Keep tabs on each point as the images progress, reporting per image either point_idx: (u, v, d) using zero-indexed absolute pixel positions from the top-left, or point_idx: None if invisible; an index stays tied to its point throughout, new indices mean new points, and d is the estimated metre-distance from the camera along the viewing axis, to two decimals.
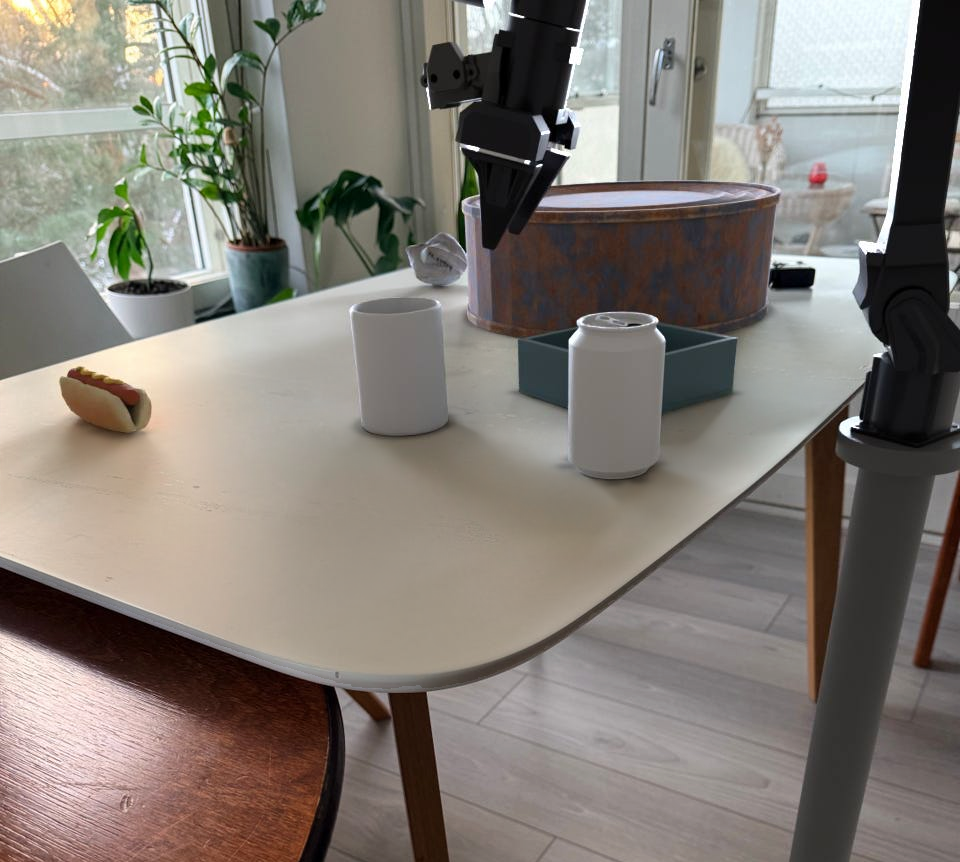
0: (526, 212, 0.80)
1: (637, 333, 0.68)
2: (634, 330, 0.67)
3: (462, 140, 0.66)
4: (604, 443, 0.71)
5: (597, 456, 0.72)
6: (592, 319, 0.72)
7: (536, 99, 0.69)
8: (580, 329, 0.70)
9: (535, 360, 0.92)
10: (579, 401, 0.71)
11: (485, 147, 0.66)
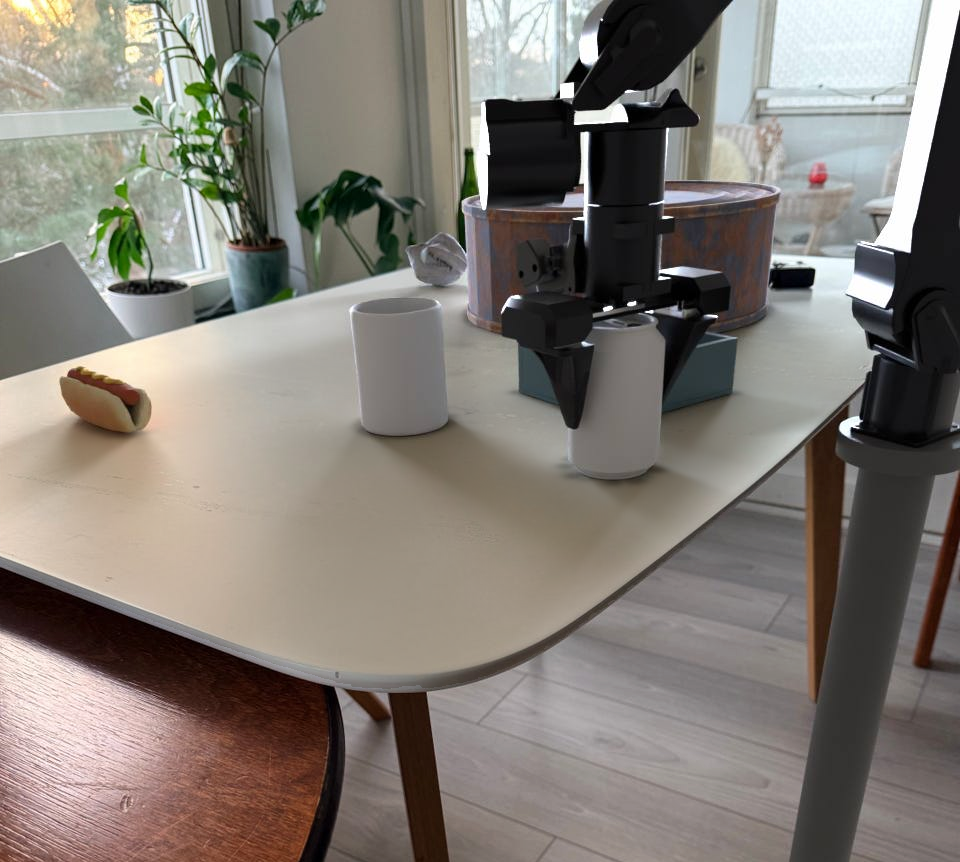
0: (665, 383, 0.74)
1: (637, 333, 0.68)
2: (634, 330, 0.67)
3: (503, 333, 0.67)
4: (604, 443, 0.71)
5: (597, 456, 0.72)
6: None
7: (603, 280, 0.66)
8: None
9: (535, 360, 0.92)
10: None
11: (517, 338, 0.65)
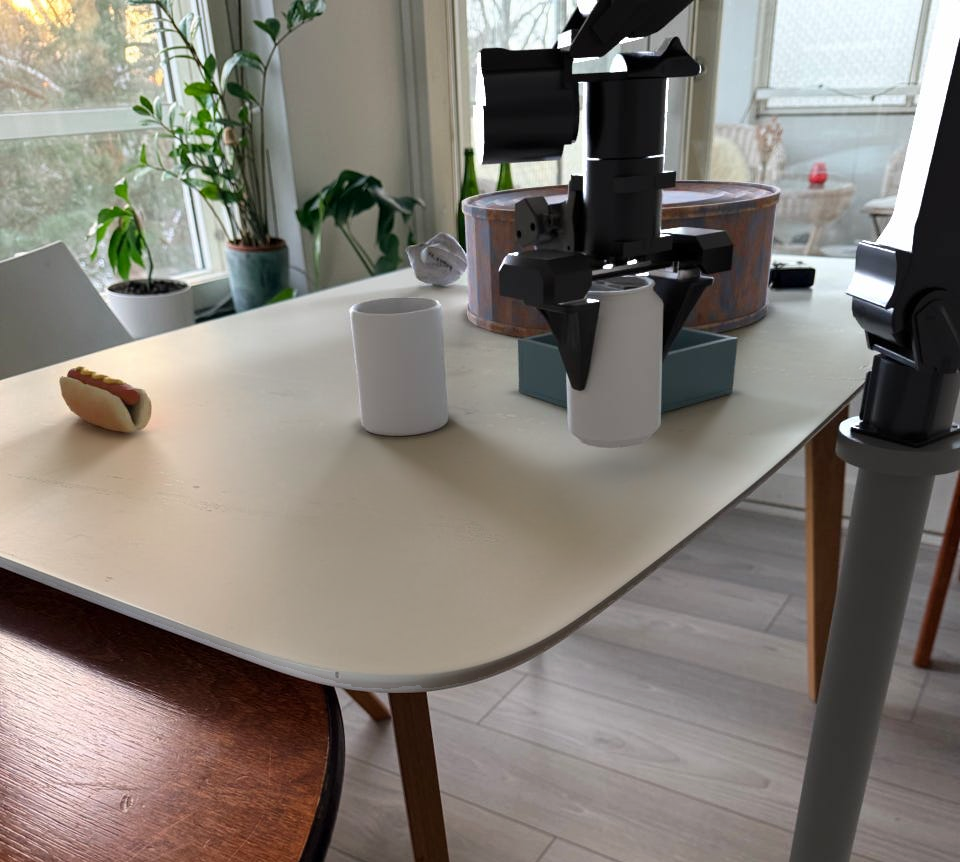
0: None
1: (634, 296, 0.66)
2: (630, 293, 0.66)
3: (500, 292, 0.65)
4: (604, 411, 0.70)
5: (597, 424, 0.70)
6: None
7: (603, 236, 0.64)
8: None
9: (535, 360, 0.92)
10: None
11: (515, 296, 0.64)
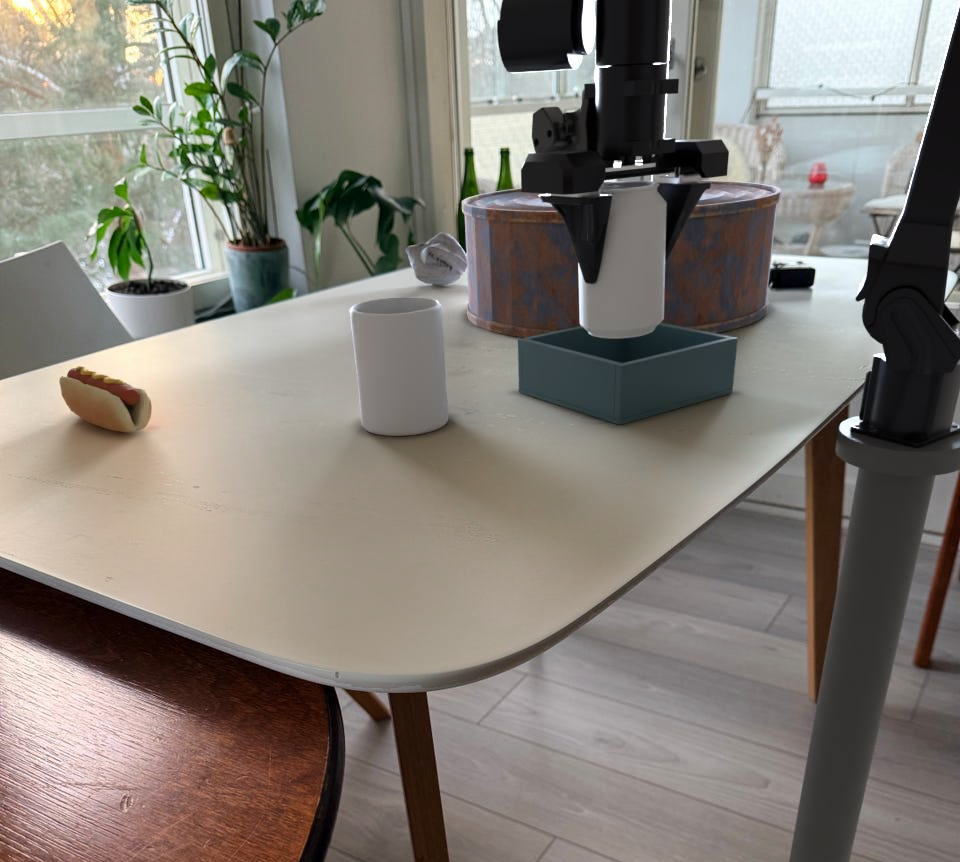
0: None
1: (641, 193, 0.74)
2: (638, 190, 0.74)
3: (522, 189, 0.73)
4: (614, 302, 0.77)
5: (608, 315, 0.78)
6: None
7: (614, 137, 0.72)
8: None
9: (535, 360, 0.92)
10: None
11: (536, 191, 0.71)
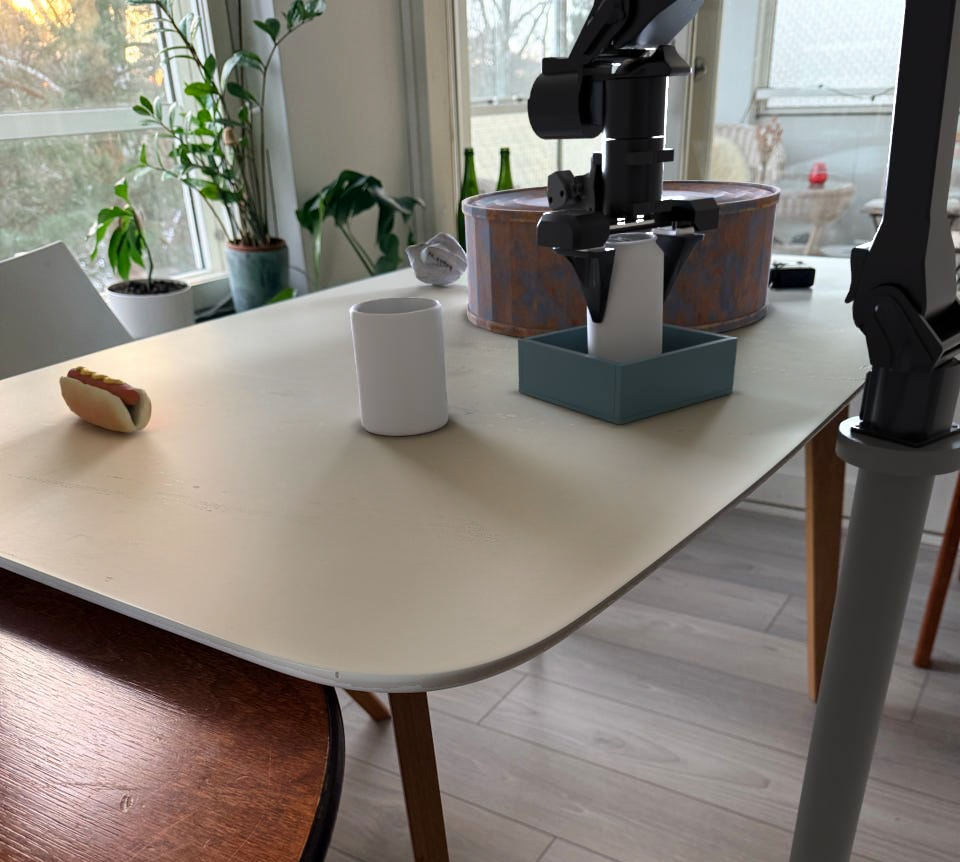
0: None
1: (641, 246, 0.85)
2: (638, 244, 0.85)
3: (538, 243, 0.84)
4: (617, 338, 0.89)
5: (612, 350, 0.89)
6: None
7: (617, 199, 0.83)
8: None
9: (535, 360, 0.92)
10: None
11: (550, 245, 0.83)
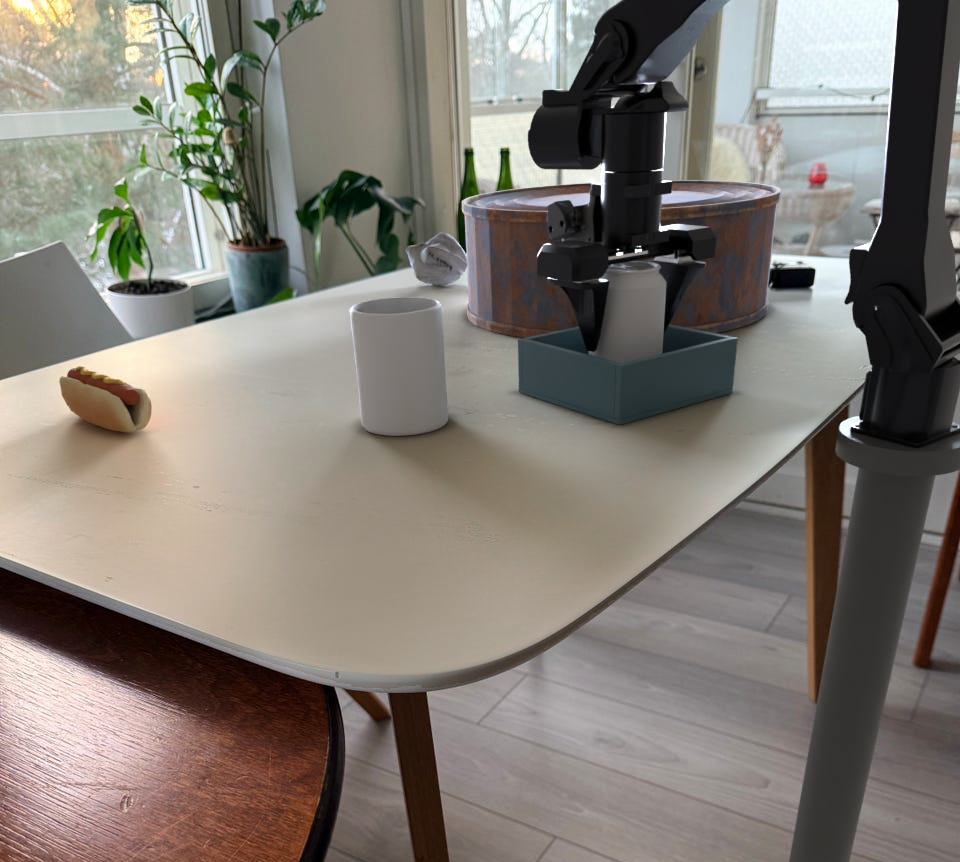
0: (664, 317, 0.93)
1: (644, 275, 0.86)
2: (642, 272, 0.86)
3: (538, 273, 0.85)
4: None
5: None
6: (608, 266, 0.90)
7: (616, 230, 0.85)
8: None
9: (535, 360, 0.92)
10: None
11: (549, 276, 0.84)
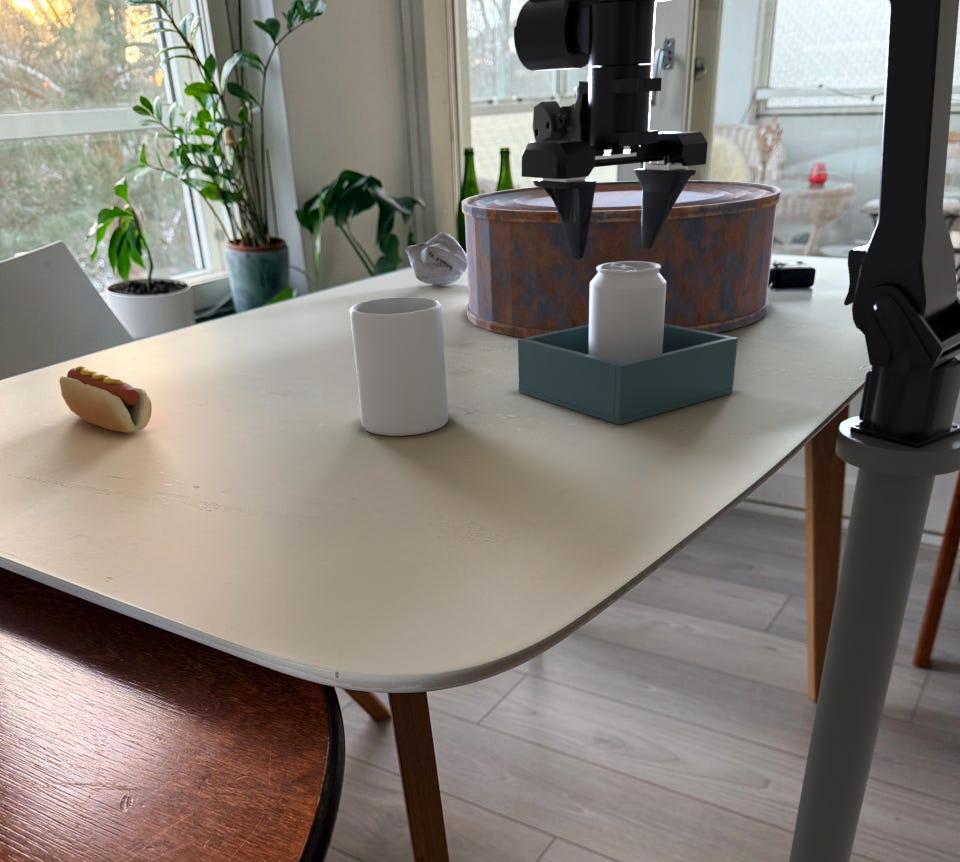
0: (653, 227, 0.90)
1: (644, 275, 0.86)
2: (642, 272, 0.86)
3: (522, 174, 0.83)
4: None
5: None
6: (608, 266, 0.90)
7: (603, 129, 0.82)
8: (599, 273, 0.88)
9: (535, 360, 0.92)
10: (598, 331, 0.90)
11: (534, 175, 0.81)
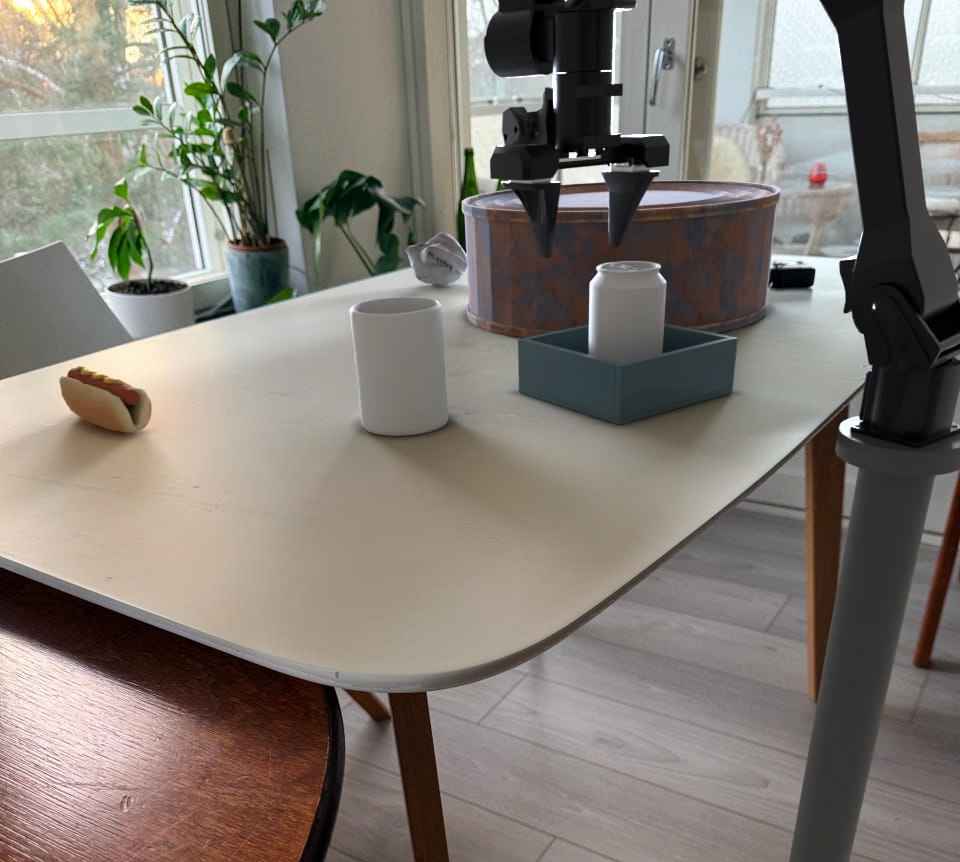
0: (620, 227, 0.94)
1: (644, 275, 0.86)
2: (642, 272, 0.86)
3: (491, 176, 0.86)
4: None
5: None
6: (608, 266, 0.90)
7: (568, 133, 0.85)
8: (599, 273, 0.88)
9: (535, 360, 0.92)
10: (598, 331, 0.90)
11: (502, 177, 0.85)
